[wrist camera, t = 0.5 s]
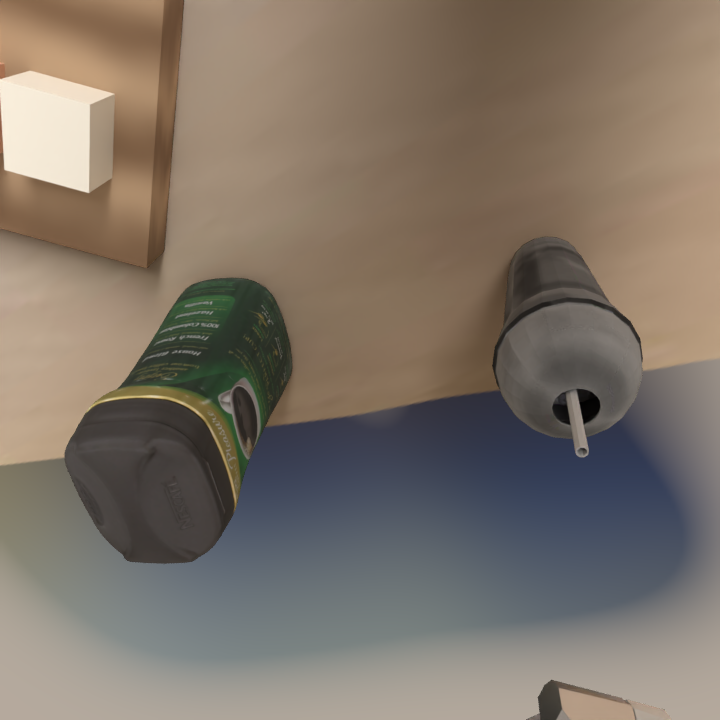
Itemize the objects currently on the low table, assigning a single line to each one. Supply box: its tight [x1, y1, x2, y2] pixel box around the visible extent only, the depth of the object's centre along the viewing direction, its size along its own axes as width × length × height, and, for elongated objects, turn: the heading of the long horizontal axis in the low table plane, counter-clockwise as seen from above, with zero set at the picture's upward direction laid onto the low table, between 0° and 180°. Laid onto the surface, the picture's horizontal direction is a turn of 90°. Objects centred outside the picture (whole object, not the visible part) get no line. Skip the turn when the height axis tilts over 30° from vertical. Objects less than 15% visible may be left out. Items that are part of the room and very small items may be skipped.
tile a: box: [0, 71, 115, 193], centre depth 39 cm, size 5×5×3 cm
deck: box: [0, 0, 184, 268], centre depth 41 cm, size 16×16×3 cm
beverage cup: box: [492, 237, 643, 457], centre depth 35 cm, size 7×7×20 cm
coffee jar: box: [65, 278, 292, 563], centre depth 42 cm, size 10×8×19 cm
